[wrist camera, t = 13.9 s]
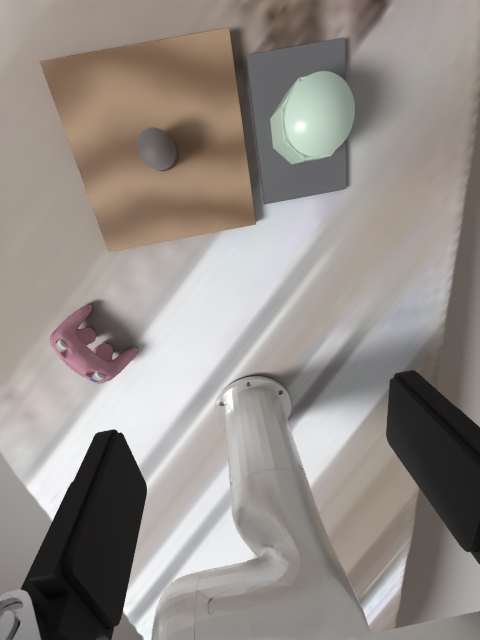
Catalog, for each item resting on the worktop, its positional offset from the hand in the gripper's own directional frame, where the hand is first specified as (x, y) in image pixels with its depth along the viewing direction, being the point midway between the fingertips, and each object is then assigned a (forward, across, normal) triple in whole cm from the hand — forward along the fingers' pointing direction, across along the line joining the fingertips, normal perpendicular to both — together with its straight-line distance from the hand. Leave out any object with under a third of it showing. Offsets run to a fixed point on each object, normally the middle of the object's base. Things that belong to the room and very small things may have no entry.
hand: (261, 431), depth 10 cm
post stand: (+30, +4, -12) cm, 33 cm away
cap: (+30, -11, -12) cm, 34 cm away
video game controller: (+31, +19, +8) cm, 37 cm away
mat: (+30, -11, -12) cm, 34 cm away
